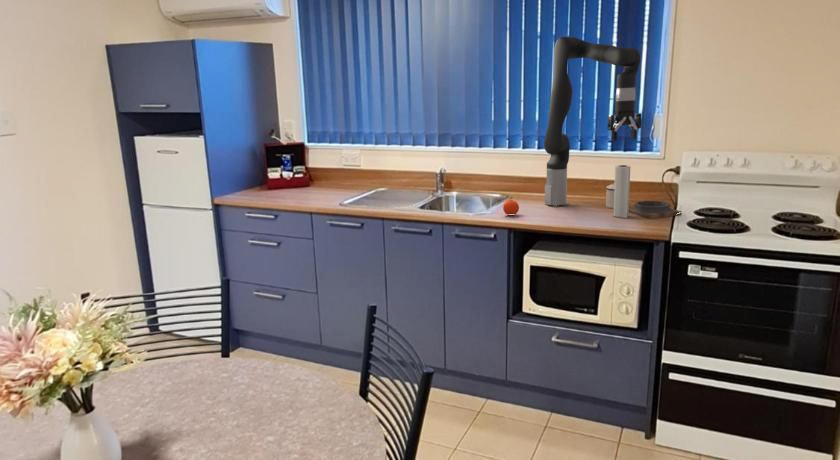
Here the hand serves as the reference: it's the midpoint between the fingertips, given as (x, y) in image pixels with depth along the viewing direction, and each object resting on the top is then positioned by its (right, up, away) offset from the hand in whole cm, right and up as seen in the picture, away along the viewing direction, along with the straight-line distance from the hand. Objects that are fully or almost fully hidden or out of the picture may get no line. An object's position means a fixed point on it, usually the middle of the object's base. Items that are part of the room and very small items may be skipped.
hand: (623, 140), depth 239 cm
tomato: (-43, -30, +20) cm, 56 cm away
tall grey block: (+1, -31, +8) cm, 32 cm away
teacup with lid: (+6, -26, +28) cm, 39 cm away
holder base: (+16, -29, +11) cm, 35 cm away
